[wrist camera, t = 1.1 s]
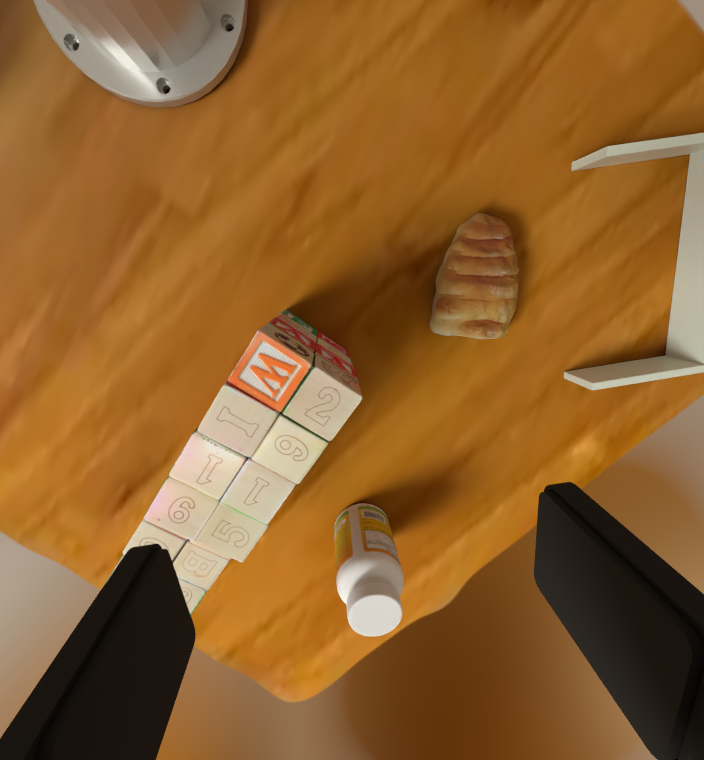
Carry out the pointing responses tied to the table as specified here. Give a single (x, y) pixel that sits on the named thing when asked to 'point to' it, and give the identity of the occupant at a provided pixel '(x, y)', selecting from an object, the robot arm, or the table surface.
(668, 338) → the frame
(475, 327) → the pastry
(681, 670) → the robot arm
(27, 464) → the table surface
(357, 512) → the supplement bottle
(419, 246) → the table surface
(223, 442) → the stack of blocks
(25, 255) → the table surface
